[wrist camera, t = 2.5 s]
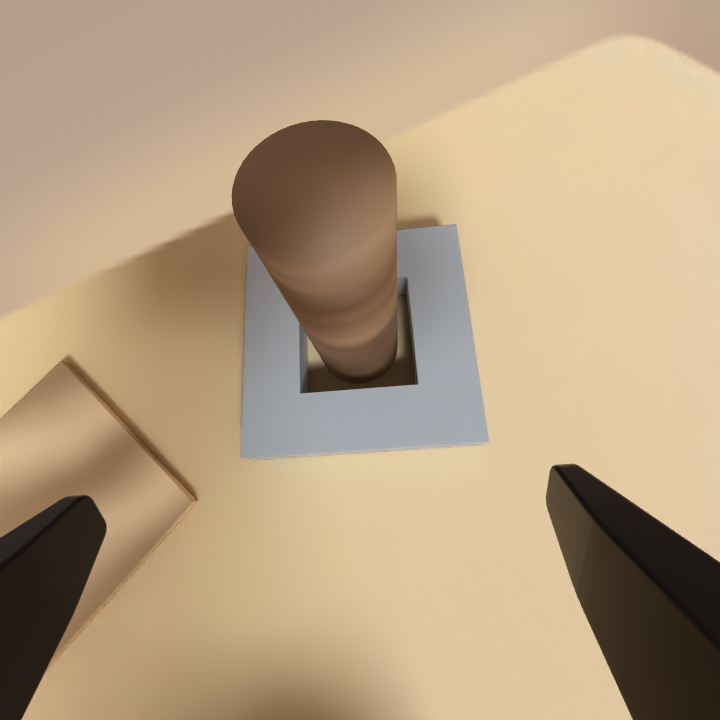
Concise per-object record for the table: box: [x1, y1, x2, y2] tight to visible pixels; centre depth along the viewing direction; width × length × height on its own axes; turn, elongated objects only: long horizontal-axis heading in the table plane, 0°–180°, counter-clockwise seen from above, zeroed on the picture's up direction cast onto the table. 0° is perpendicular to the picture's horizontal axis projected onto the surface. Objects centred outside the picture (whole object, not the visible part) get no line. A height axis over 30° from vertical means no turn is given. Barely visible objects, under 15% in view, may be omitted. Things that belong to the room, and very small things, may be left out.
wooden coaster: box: [0, 362, 198, 672], centre depth 21 cm, size 12×12×1 cm
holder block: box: [241, 224, 489, 460], centre depth 22 cm, size 12×12×2 cm
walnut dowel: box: [232, 120, 397, 383], centre depth 17 cm, size 4×4×13 cm
